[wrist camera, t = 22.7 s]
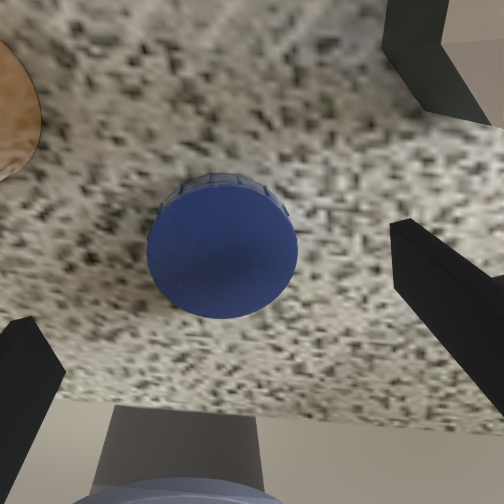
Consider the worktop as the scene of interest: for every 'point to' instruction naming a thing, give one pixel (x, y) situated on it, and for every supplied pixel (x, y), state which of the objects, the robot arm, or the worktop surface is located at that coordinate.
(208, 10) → the worktop surface
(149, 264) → the jam lid
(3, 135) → the jam jar
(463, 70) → the wine bottle
